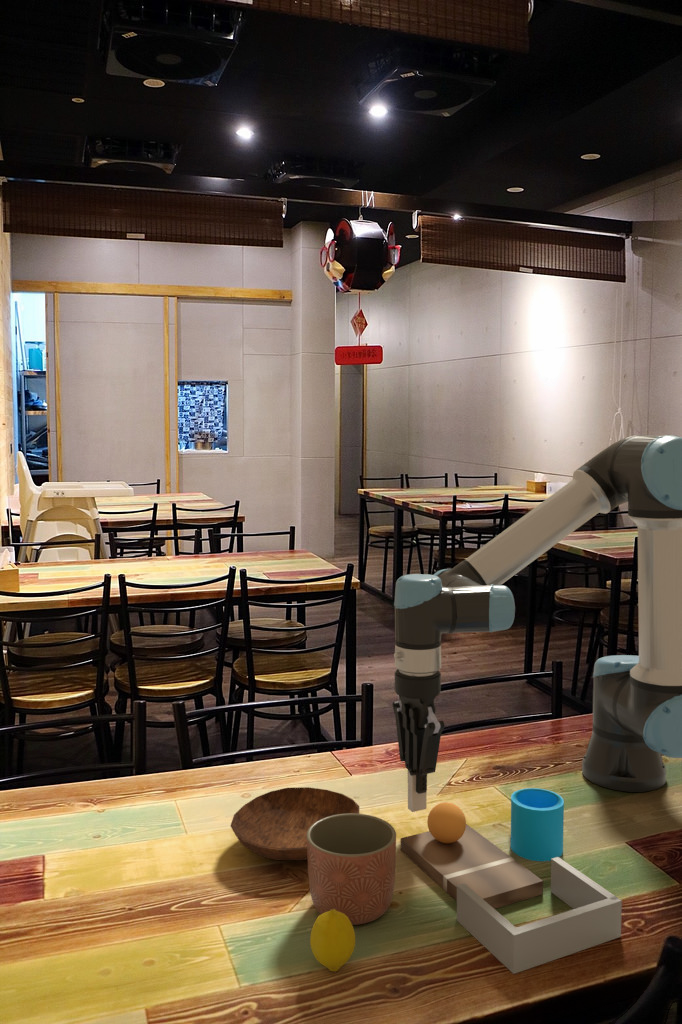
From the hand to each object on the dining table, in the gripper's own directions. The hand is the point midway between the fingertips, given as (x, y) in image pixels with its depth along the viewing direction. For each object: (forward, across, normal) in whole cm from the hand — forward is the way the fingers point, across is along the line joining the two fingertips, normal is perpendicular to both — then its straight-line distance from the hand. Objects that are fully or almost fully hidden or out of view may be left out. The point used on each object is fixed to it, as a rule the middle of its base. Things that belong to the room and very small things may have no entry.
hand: (417, 808), depth 141 cm
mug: (+4, +12, +14) cm, 19 cm away
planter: (+4, +16, -20) cm, 26 cm away
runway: (+4, +15, 0) cm, 15 cm away
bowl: (+4, -4, -20) cm, 21 cm away
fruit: (+4, +27, -28) cm, 39 cm away
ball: (-1, +9, 0) cm, 9 cm away
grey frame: (+4, +31, 0) cm, 31 cm away
